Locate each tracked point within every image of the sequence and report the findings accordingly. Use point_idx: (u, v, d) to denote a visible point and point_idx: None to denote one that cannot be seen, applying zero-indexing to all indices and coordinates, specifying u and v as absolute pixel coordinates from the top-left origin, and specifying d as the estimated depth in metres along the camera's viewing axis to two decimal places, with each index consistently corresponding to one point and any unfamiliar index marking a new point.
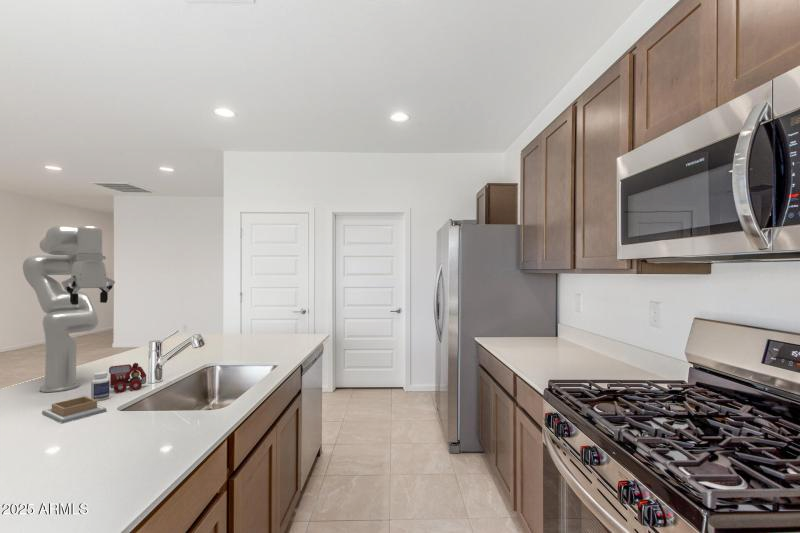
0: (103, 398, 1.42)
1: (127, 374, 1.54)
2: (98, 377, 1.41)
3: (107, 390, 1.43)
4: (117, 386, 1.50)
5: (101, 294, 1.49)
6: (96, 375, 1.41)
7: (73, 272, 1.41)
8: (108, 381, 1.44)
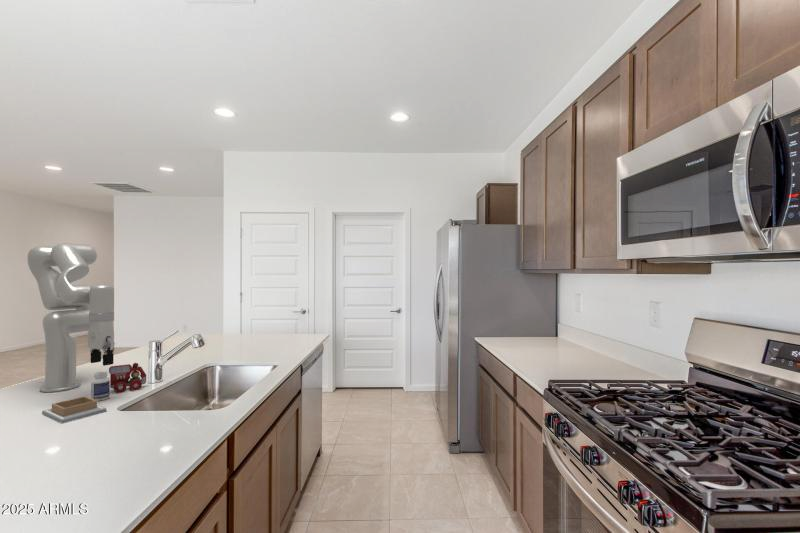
0: (103, 398, 1.42)
1: (127, 374, 1.54)
2: (98, 377, 1.41)
3: (107, 390, 1.43)
4: (117, 386, 1.50)
5: (94, 354, 1.45)
6: (96, 375, 1.41)
7: (106, 333, 1.40)
8: (108, 381, 1.44)
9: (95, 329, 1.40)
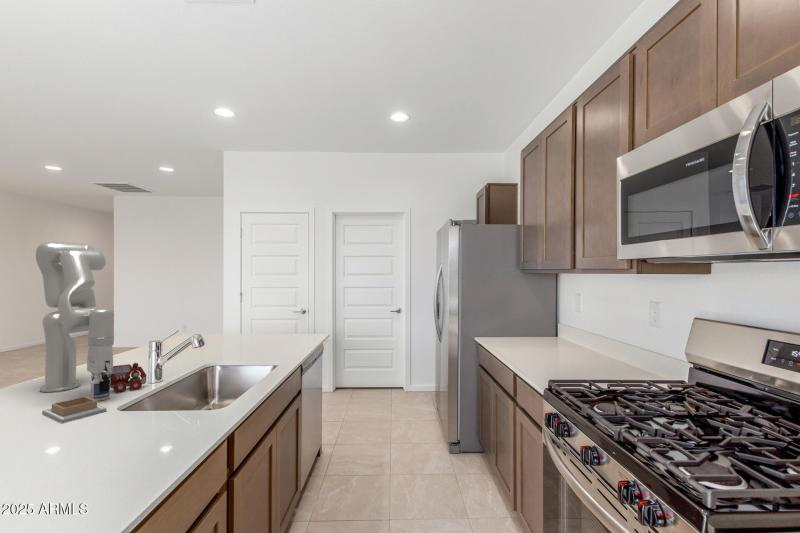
0: (103, 398, 1.42)
1: (127, 374, 1.54)
2: (98, 377, 1.41)
3: None
4: (117, 386, 1.50)
5: None
6: (96, 375, 1.41)
7: (105, 357, 1.41)
8: None
9: (94, 353, 1.40)
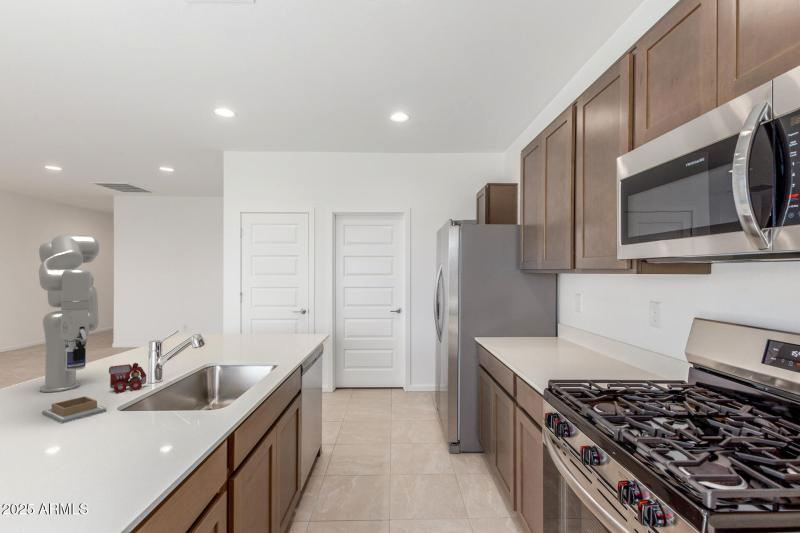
0: (78, 368, 1.28)
1: (127, 374, 1.54)
2: (72, 344, 1.28)
3: None
4: (117, 386, 1.50)
5: None
6: (70, 342, 1.28)
7: (79, 322, 1.27)
8: None
9: (68, 318, 1.26)
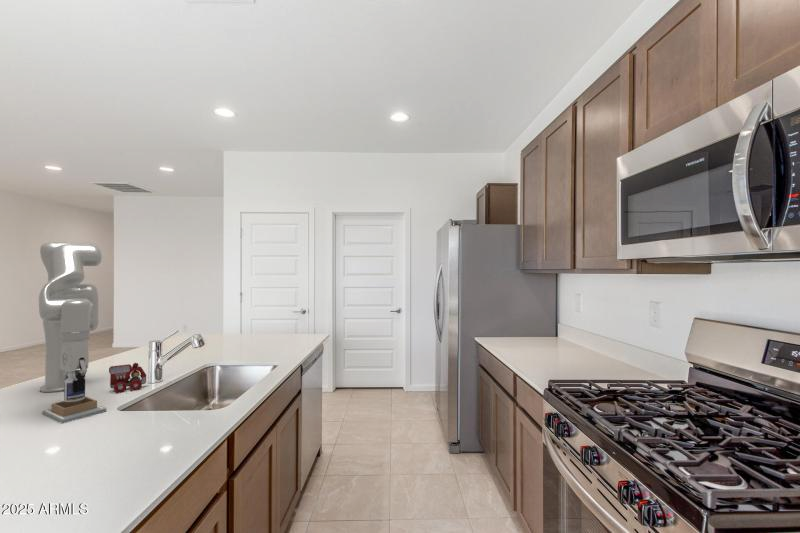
0: (77, 399, 1.28)
1: (127, 374, 1.54)
2: (71, 375, 1.28)
3: None
4: (117, 386, 1.50)
5: None
6: (69, 374, 1.27)
7: (79, 354, 1.27)
8: None
9: (67, 349, 1.26)
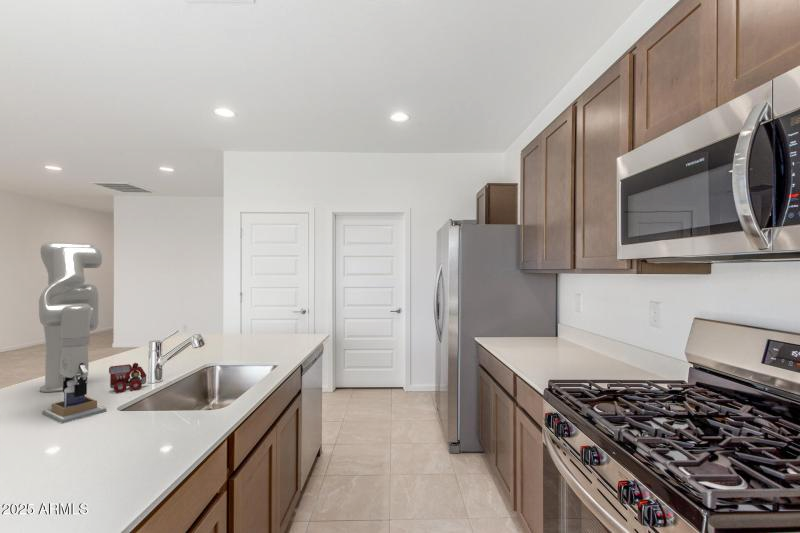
0: None
1: (127, 374, 1.54)
2: (71, 385, 1.28)
3: (82, 400, 1.29)
4: (117, 386, 1.50)
5: None
6: (69, 383, 1.28)
7: (79, 359, 1.26)
8: None
9: (67, 355, 1.26)
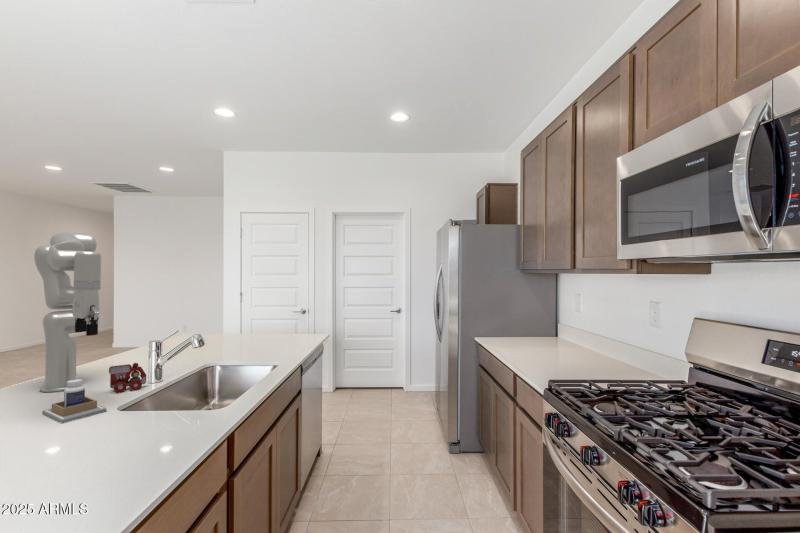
0: None
1: (127, 374, 1.54)
2: (71, 385, 1.28)
3: (82, 400, 1.29)
4: (117, 386, 1.50)
5: (78, 323, 1.38)
6: (69, 383, 1.28)
7: (90, 301, 1.34)
8: (83, 390, 1.30)
9: (79, 297, 1.33)
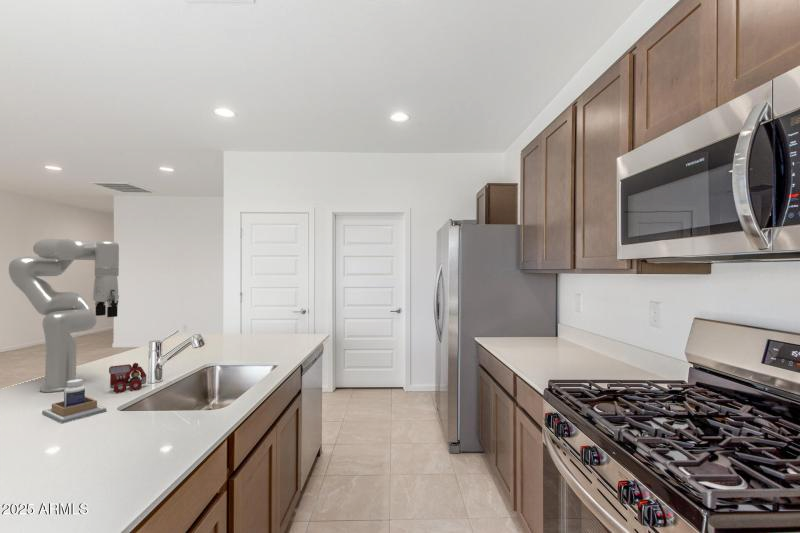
0: None
1: (127, 374, 1.54)
2: (71, 385, 1.28)
3: (82, 400, 1.29)
4: (117, 386, 1.50)
5: (99, 307, 1.52)
6: (69, 383, 1.28)
7: (111, 286, 1.47)
8: (83, 390, 1.30)
9: (100, 282, 1.47)
